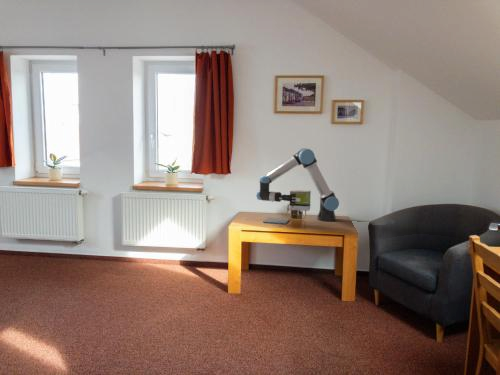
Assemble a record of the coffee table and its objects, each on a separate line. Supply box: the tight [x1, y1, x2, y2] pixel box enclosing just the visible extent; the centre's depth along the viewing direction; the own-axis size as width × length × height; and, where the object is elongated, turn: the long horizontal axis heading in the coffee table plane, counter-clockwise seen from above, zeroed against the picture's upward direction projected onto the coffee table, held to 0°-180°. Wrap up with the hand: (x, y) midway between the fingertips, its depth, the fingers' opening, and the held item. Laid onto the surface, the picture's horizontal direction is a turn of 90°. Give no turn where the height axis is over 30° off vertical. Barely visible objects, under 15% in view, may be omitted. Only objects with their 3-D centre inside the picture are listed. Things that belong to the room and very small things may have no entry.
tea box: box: [289, 189, 311, 212], centre depth 308 cm, size 15×10×15 cm, turn 76°
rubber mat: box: [263, 217, 290, 225], centre depth 323 cm, size 18×18×1 cm
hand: (302, 198), depth 307 cm, fingers closed on tea box, 11 cm apart
